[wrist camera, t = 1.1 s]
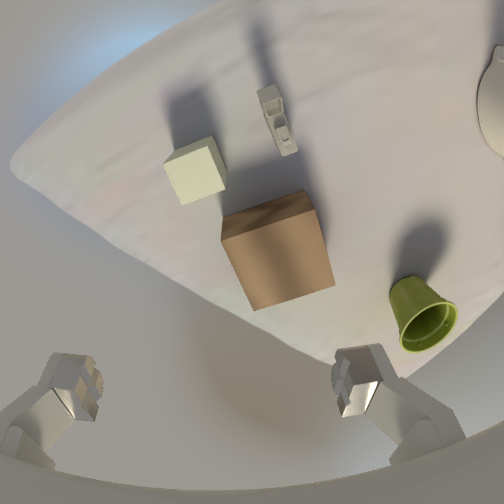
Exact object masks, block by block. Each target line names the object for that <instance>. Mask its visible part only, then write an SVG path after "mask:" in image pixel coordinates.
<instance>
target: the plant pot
mask: <svg viewBox="0 0 504 504" xmlns="http://www.w3.org/2000/svg"><path fill="white" fill-rule="evenodd" d="M390 304H391V306H392V309H393V312H394V315H395V318H396V321H397V323H398V326H399V334H400V339H399V341H400V345H401V347H402V349H403V350H405V351H407V352H409V353H419V352H423V351H426V350H428V349H431V348H433V347H434V346H436V345H437V344H439V343H440V342H441V341H443V340H444V339H445V338H446V337H447V336H448V335H449V333H450V332H451V331H452V329H453V328H454V326H455V324H456V321H457V318H458V309H457V307H456V306H455V305H454V304H453V303H452V302H450V301H447V300H445V299H444V298H441V297H440V296H439V295H438V294H437V293H436V292H435V291H434V290H433V289H431V288H430V287H429V286H428V285H427V284H426V283H425V282H424V281H423V280H422V279H421V278H419V277H417V276H411V277H408V278H403V279H401V280H400V281H398V282H397V283H396V284H395V285H394V286H393V288H392V290H391V292H390Z"/></svg>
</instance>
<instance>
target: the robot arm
mask: <svg viewBox="0 0 504 504" xmlns="http://www.w3.org/2000/svg"><path fill="white" fill-rule="evenodd" d="M477 107H478V117H479V123H480V127H481V130H482V133H483V135H484V137H485V139H486V141H487V143H488V144H489V146H490V147H491V148H492V149H493V150H494V151H495V152H496V153H498V154H499V155H501V156H502V157H503V158H504V46H500V45H498V46H496V47H495V49H494V53H493V58H492V62H491V64H490V66H489V67H488V69H487V70H486V71H485V73H484V75H483V77H482V80H481V82H480V86H479V91H478V101H477ZM335 359H336V363H335V364H334V365H333V366H332V370H331V383H332V388H333V391H334V392H335V393H336V394H338V395H339V397H338V400H337V404H338V407H339V411H340V414H341V417H347V416H353V415H359V414H365V415H366V416H367V417H368V418H369V419H370V420H371V421H372V422H373V423H374V424H375V425H376V426H378V427H379V428H380V429H381V430H382V431H383V432H384V433H385V434H386V435H387V436H389V437H390V438H391V439H392V440H393V441H394V442H395V443H397V444H398V445H399V446H398V447H397V449H396V450H395V451H394V453H393V454H392V455H391V457H390V458H389V461H390V464H391V466H387V467H384V468H380V469H377V470H372V471H369V472H364V473H360V474H356V475H351V476H347V477H342V478H337V479H332V480H326V481H321V482H314V483H308V484H301V485H293V486H284V487H275V488H265V489H248V490H221V491H220V490H219V491H218V490H216V491H215V490H211V491H210V490H202V491H201V490H177V489H162V488H151V487H141V486H133V485H125V484H118V483H112V482H106V481H100V480H95V479H90V478H85V477H80V476H76V475H72V474H67V473H63V472H59V471H56V470H54V468H55V462H54V461H53V460H52V459H51V458H50V457H49V456H48V455H47V454H46V452H47V451H48V449H49V448H50V447H51V446H52V445H53V444H54V443H55V442H56V441H57V439H58V438H59V437H60V436H61V435H62V434H63V433H64V432H65V431H66V429H67V428H68V427H69V426H70V425H71V424H72V423H73V422H74V420H82V421H91V422H95V419H96V415H97V412H98V408H99V406H98V404H97V402H96V401H97V400H99V399H100V398H101V397H102V392H103V379H102V376H101V373H100V372H99V371H98V370H97V369H96V368H94V366H95V361H94V359H93V357H91V356H85V355H76V354H67V353H57V352H54V353H53V354H51V356H50V358H49V361H48V362H47V365H46V367H45V369H44V371H43V374H42V376H41V378H40V380H39V382H38V385H37V386H33V387H31V388H30V389H29V390H27V391H26V392H25V393H23V394H22V395H21V396H20V397H18V398H17V399H16V400H15V401H13V402H12V403H11V404H10V405H8V406H7V407H6V408H4V409H3V410H2V411H0V504H504V421H502V422H500V423H498V424H496V425H494V426H492V427H490V428H488V429H486V430H484V431H481V432H479V433H477V434H475V435H473V436H471V437H468V438H466V436H465V434H464V432H463V430H462V428H461V426H460V424H459V422H458V420H457V418H456V416H455V414H454V412H453V410H452V409H450V408H449V407H447V406H446V405H444V404H442V403H441V402H439V401H438V400H436V399H435V398H433V397H432V396H430V395H429V394H427V393H426V392H424V391H422V390H421V389H419V388H418V387H416V386H415V385H413V384H412V383H410V382H408V381H407V380H405V379H404V378H403V377H400V378H398V376H397V374H396V372H395V370H394V368H393V366H392V364H391V362H390V360H389V358H388V356H387V354H386V352H385V350H384V348H383V346H382V345H381V344H380V343H377V344H370V345H363V346H356V347H349V348H341V349H338V350H337V351H336V353H335Z"/></svg>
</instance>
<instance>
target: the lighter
mask: <svg viewBox="0 0 504 504" xmlns="http://www.w3.org/2000/svg"><path fill="white" fill-rule="evenodd" d="M257 94H258V97H259V101H260V104H261V107H262V109H263V111H264V113H265V114H264V117H265V120H266V122H267V125H268V127H269V129H270V132H271V134H272V137H273V139H274V142H275V144H276V147H277V148H278V150H279V152H280V154H281V155H282V156H287V155H289V154H292V153H295V152H297V151H298V147H297V144H296V142H295V139H294V137H293V134H292V131H291V129H290V126H289V124H288V121H287V119H286V116H285V114H284V113H283V112H284V108H283V99H282V96H281V93H280V91H279V89H278V87H277V85H276V84H274V85H271V86H268V87H266V88H263V89H260V90H258V91H257Z"/></svg>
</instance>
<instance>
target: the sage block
mask: <svg viewBox="0 0 504 504" xmlns="http://www.w3.org/2000/svg"><path fill="white" fill-rule="evenodd" d="M163 166H164V168H165V170H166V172H167V175H168V177H169V179H170V181H171V183H172V185H173V187H174V189H175V192H176V194H177V196H178V198H179V200H180V202H181V204H182V206H183V205H185V204H188V203H190V202H193V201H196V200H198V199H201V198H203V197H206V196H209V195H211V194H214V193H217V192H220V191H222V190H225V189H226V179H227V170H226V167H225V165H224V163H223V160H222V158H221V155H220V153H219V150H218V148H217V145H216V143H215V141H214V138H213V136H212V135H211V136H209V137H206V138H204V139H201V140H199V141H196V142H194V143H191V144H189V145H186V146H184V147H182V148H179V149H177V150H175V151H174V152H173V153H172V154H171V155H170V156H169V158H168V159H167V160H166V161H165V162H164V163H163Z"/></svg>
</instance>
